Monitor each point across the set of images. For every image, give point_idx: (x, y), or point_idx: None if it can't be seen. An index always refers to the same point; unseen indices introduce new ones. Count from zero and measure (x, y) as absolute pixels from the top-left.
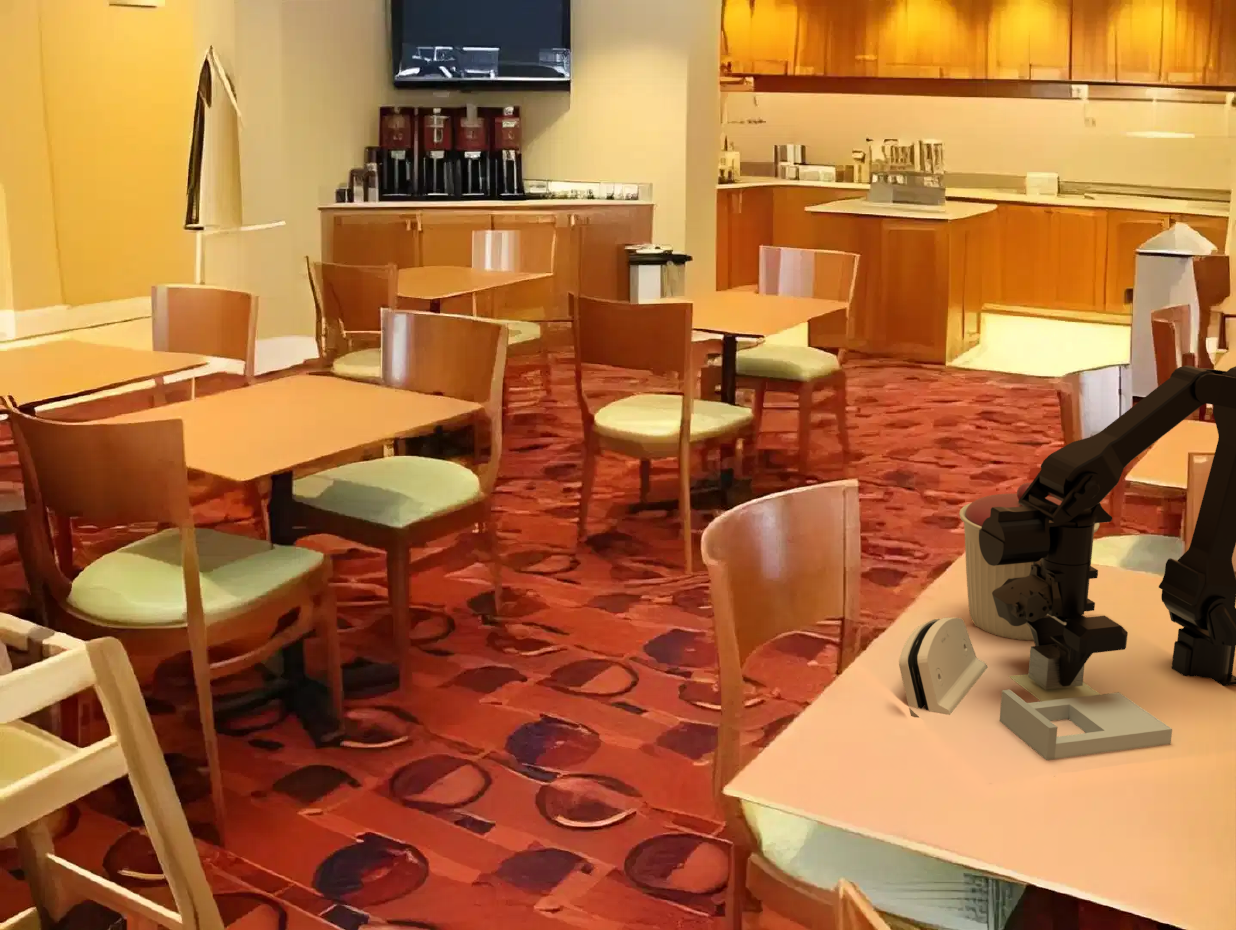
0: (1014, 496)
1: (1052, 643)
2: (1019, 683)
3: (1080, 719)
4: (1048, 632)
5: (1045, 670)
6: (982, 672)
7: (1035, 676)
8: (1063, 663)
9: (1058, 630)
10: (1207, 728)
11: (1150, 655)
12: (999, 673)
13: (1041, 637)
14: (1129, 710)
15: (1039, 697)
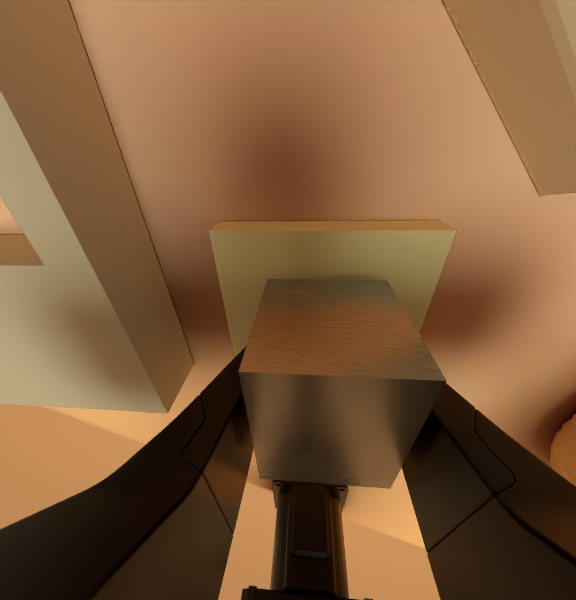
0: None
1: (414, 459)
2: (380, 235)
3: (2, 254)
4: (460, 527)
5: (270, 322)
6: (571, 119)
7: (341, 291)
8: (203, 399)
9: (441, 554)
10: (150, 433)
11: (399, 489)
12: (533, 243)
13: (461, 473)
14: (54, 384)
15: (252, 241)
